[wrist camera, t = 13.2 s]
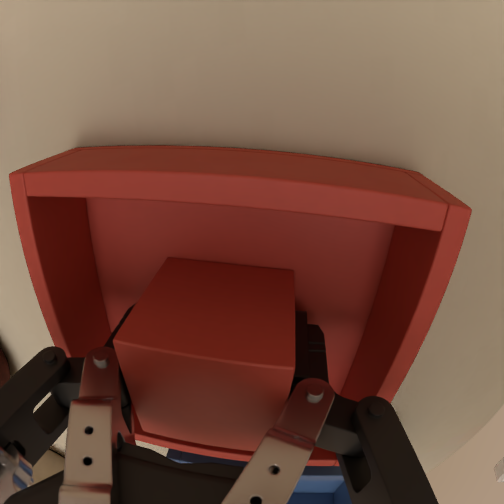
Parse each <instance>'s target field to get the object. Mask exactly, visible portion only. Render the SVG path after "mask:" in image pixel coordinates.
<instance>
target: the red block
mask: <svg viewBox="0 0 504 504" xmlns="http://www.w3.org/2000/svg"><path fill="white" fill-rule="evenodd" d="M113 344H114V348H115V351H116V354H117V358H118V361H119V364H120V368H121V371H122V374H123V377H124V380H125V383H126V386H127V389H128V392H129V395H130V397H131V400H132V403H133V406H134V408H135V411H136V414H137V416H138V419H139V422H140V424H141V427H142V429H143V431H145V432H149V433H153V434H157V435H161V436H166V437H170V438H174V439H179V440H184V441H189V442H194V443H199V444H205V445H211V446H217V447H224V448H231V449H238V450H246V451H255V450H256V449H257V447H258V446H259V444H260V442H261V441H262V439H263V437H264V436H265V434H266V432H267V431H268V430H269V429H270V428H272V427H273V426H274V424H275V423H276V421H277V419H278V417H279V416H280V414H281V412H282V410H283V408H284V407H285V405H286V403H287V401H288V397H289V393H290V389H291V385H292V380H293V376H294V372H295V273H294V271H292V270H282V269H273V268H263V267H253V266H244V265H235V264H225V263H216V262H207V261H198V260H189V259H180V258H171V257H167V258H166V260H165V261H164V263H163V264H162V266H161V267H160V269H159V270H158V271H157V273H156V274H155V276H154V277H153V279H152V280H151V282H150V283H149V285H148V286H147V288H146V289H145V291H144V292H143V294H142V295H141V297H140V298H139V300H138V301H137V303H136V304H135V306H134V307H133V309H132V310H131V312H130V314H129V315H128V317H127V318H126V320H125V321H124V323H123V324H122V326H121V328H120V329H119V331H118V332H117V334H116V335H115V337H114V339H113Z"/></svg>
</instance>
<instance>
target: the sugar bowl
mask: <svg viewBox="0 0 504 504" xmlns="http://www.w3.org/2000/svg"><path fill="white" fill-rule="evenodd" d="M64 464H65V459H64V458H63V457H61V456H60V455H58V454H56V453H54V452H53V451H51V450H49V449H48V450H47V451H46V452H45V454H44V455H43V456H42V457H41V458H40V459H39V461H38V462H37V463H36V464H35V465H34V466H33V475H32V476H33V478H34V482H33V484H36V483H38V482H40V481H42V480H44V479H46V478H48V477H50V476H52V475H54V474H56V473H58V472H60V471H62V470H64ZM33 484H32V485H33ZM30 486H31V485H30ZM28 487H29V486H28Z"/></svg>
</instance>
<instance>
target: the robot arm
mask: <svg viewBox="0 0 504 504" xmlns="http://www.w3.org/2000/svg"><path fill="white" fill-rule="evenodd" d="M135 304H136V303H135ZM135 304H134V305H132V306H131V307H130V308H128V310H127V311H126V313H125V314H124V316H123V318H122V319H121V320H120V322H119V324H118V325H117V326H116V328H115V329H114V331H113V333H112V334H111V336H110V337H109V339H108V340H107V342H106V343H105V345H104V346H103V347H97V348H94V349H92V350H91V351H90V352H88V353H87V355H86V356H85V357H67V356H66V353H65V351H64V350H63V349H62V348H60V347H55V346H52V347H47V348H45V349H43V350H41V351H40V352H39V353H38V354H37V355H36V356H34V357H33V358H32V359H31V360H30V361H29V362H28V363H27V364H26V365H25V366H23V367H22V368H21V369H20V370H19V371H18V372H17V373H16V374H15V375H14V376H13V377H11V378H10V379H9V380H8V381H7V382H6V383H5V384H4V385H3V386H2V387H1V388H0V504H287V502H288V501H289V499H290V497H291V495H292V493H293V491H294V489H295V487H296V485H297V483H298V481H299V479H300V477H301V475H302V473H303V471H304V469H305V466H306V464H307V462H308V460H309V458H310V456H311V454H312V451H313V449H314V447H315V446H316V447H319V448H322V449H326V450H329V451H332V452H335V453H336V456H337V459H338V462H339V466H340V469H341V472H342V475H343V478H344V481H345V484H346V487H347V490H348V493H349V496H350V499H351V502H352V504H438V502H437V499H436V497H435V495H434V492H433V490H432V488H431V486H430V483H429V481H428V479H427V477H426V475H425V472H424V470H423V468H422V466H421V464H420V462H419V460H418V457H417V455H416V453H415V451H414V449H413V447H412V445H411V443H410V441H409V439H408V437H407V435H406V432H405V430H404V428H403V426H402V424H401V422H400V420H399V418H398V416H397V414H396V412H395V410H394V408H393V407H392V405H391V404H390V403H389V402H388V401H387V400H386V399H384V398H382V397H378V396H368V397H365V398H363V399H361V400H360V401H359V402H357V401H354V400H350V399H347V398H344V397H342V396H340V395H338V394H337V393H336V392H335V391H334V390H333V388H332V386H331V385H330V384H329V378H328V367H327V357H326V347H325V338H324V333H323V331H322V330H321V328H320V327H319V325H315V324H308V323H307V312H306V311H297V310H295V372H294V376H293V380H292V385H291V389H290V393H289V397H288V401H287V403H286V405H285V407H284V408H283V410H282V412H281V414H280V416H279V417H278V419H277V421H276V423H275V424H274V426H273V427H272V428H270V429H269V430H268V431H267V432H266V434H265V436H264V437H263V439H262V441H261V442H260V444H259V446H258V447H257V449H256V450H255V452H254V454H253V455H252V457H251V459H250V460H249V462H248V463H247V465H246V466H245V468H244V467H241V466H234V465H226V464H220V463H213V462H210V463H178V462H175V461H173V460H171V459H169V458H167V457H165V456H163V455H161V454H159V453H157V452H155V451H153V450H151V449H148V448H144V447H140V446H137V445H136V443H135V433H134V406H133V403H132V400H131V397H130V395H129V392H128V389H127V386H126V383H125V380H124V377H123V374H122V371H121V368H120V364H119V361H118V358H117V354H116V351H115V348H114V344H113V339H114V337H115V335H116V334H117V332H118V331H119V329H120V328H121V326H122V324H123V323H124V321H125V320H126V318H127V317H128V315H129V314H130V312H131V310H132V309H133V307H134V306H135ZM49 392H51V394H52V395H51V396H50V397H49V398H48V399H47V400H46V401H45V402H44V403H43V404H42V405H41V406H40V407H39V408H38V409H37V410H36V411H35V412H34V413H33V410H34V408H35V406H36V405H37V404H38V403H39V402H40V401H41V400H42V399H43V398H44V397H45V396H46V395H47V394H48V393H49ZM67 427H68V429H67V438H66V450H65V464H64V470H62V471H60V472H58V473H56V474H54V475H52V476H50V477H48V478H46V479H44V480H42V481H40V482H38V483H36V484H33V482H34V478H33V476H32V475H33V466H34V465H35V464H36V463H37V462H38V461H39V459H40V458H41V457H42V456H43V455H44V454H45V452H46V451H47V450H48V449H49V448H50V447H51V446H52V444H53V443H54V442H55V441H56V440H57V439H58V437H59V436H60V435H61V434H62V433H63V432H64V431H65V429H66V428H67ZM32 484H33V485H32ZM30 485H31V486H30ZM28 486H29V487H28Z"/></svg>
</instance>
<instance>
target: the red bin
mask: <svg viewBox="0 0 504 504" xmlns="http://www.w3.org/2000/svg"><path fill="white" fill-rule="evenodd" d="M9 179H10V186H11V193H12V199H13V205H14V210H15V215H16V220H17V225H18V230H19V234H20V239H21V243H22V247H23V251H24V255H25V259H26V263H27V266H28V270H29V273H30V277H31V280H32V283H33V287H34V290H35V293H36V296H37V299H38V302H39V305H40V308H41V311H42V314H43V316H44V319H45V322H46V325H47V327H48V330H49V332H50V335H51V337H52V340H53V342H54V345H55V347H60V348H62V349H63V350H64V351H65V353H66V356H67V357H85V356H86V355H87V353H88V352H90V351H91V350H92V349H94V348H97V347H103V346H104V345H105V343H106V342H107V340H108V339H109V337H110V336H111V334H112V333H113V331H114V329H115V328H116V326H117V325H118V324H119V322H120V320H121V319H122V318H123V316H124V314H125V313H126V311H127V310H128V308H130V307H131V306H132V305H134V304H135V303H137V301H138V300H139V298H140V297H141V295H142V294H143V292H144V291H145V289H146V288H147V286H148V285H149V283H150V282H151V280H152V279H153V277H154V276H155V274H156V273H157V271H158V270H159V269H160V267H161V266H162V264H163V263H164V261H165V260H166V258H167V257H171V258H180V259H189V260H198V261H207V262H216V263H225V264H235V265H244V266H253V267H263V268H273V269H282V270H292V271H294V273H295V310H297V311H306V312H307V323H308V324H315V325H319V327H320V328H321V330H322V331H323V333H324V338H325V347H326V357H327V367H328V378H329V384H330V385H331V386H332V388H333V390H334V391H335V392H336V393H337V394H338V395H340V396H342V397H344V398H347V399H350V400H354V401H357V402H359V401H360V400H361V399H363V398H365V397H368V396H378V397H382V398H384V399H386V400H387V401H388V402H389V403H390V402H391V401H392V399H393V397H394V396H395V394H396V392H397V391H398V389H399V387H400V385H401V383H402V382H403V380H404V378H405V376H406V374H407V373H408V371H409V369H410V367H411V365H412V363H413V361H414V359H415V357H416V355H417V353H418V351H419V349H420V347H421V345H422V343H423V341H424V339H425V337H426V335H427V333H428V330H429V328H430V326H431V324H432V322H433V319H434V317H435V315H436V312H437V310H438V308H439V305H440V303H441V301H442V298H443V296H444V293H445V291H446V288H447V285H448V283H449V280H450V277H451V275H452V272H453V269H454V266H455V264H456V261H457V258H458V255H459V252H460V249H461V246H462V242H463V239H464V236H465V233H466V229H467V226H468V222H469V219H470V215H471V212H472V209H471V208H470V207H468V206H467V205H466V204H464V203H463V202H461V201H460V200H459V199H457V198H456V197H454V196H453V195H452V194H450V193H449V192H447V191H446V190H444V189H443V188H441V187H440V186H438V185H437V184H435V183H434V182H432V181H431V180H429V179H428V178H426V177H425V176H423V175H422V174H420V173H419V172H415V171H410V170H405V169H400V168H395V167H389V166H384V165H378V164H372V163H366V162H359V161H353V160H346V159H339V158H332V157H324V156H316V155H308V154H299V153H290V152H279V151H268V150H256V149H242V148H226V147H205V146H166V145H139V146H101V147H81V148H74V149H71V150H68V151H66V152H63V153H60V154H57V155H54V156H52V157H49V158H46V159H44V160H41V161H38V162H36V163H33V164H31V165H28V166H26V167H23V168H21V169H19V170H16V171H14V172H12V173H10V174H9ZM134 433H135V440H139V441H142V442H146V443H150V444H154V445H158V446H162V447H166V448H170V449H175V450H179V451H184V452H189V453H194V454H200V455H205V456H211V457H217V458H224V459H231V460H238V461H247V462H249V460H250V459H251V457H252V455H253V454H254V452H255V451H246V450H238V449H231V448H224V447H217V446H211V445H205V444H199V443H194V442H189V441H184V440H179V439H174V438H170V437H166V436H161V435H157V434H153V433H149V432H145V431H143V429H142V427H141V424H140V422H139V419H138V416H137V414H136V411H135V408H134ZM333 465H334V466H339V462H338V459H337V456H336V453H335V452H332V451H329V450H326V449H322V448H319V447H316V446H315V447H314V449H313V451H312V454H311V456H310V458H309V460H308V462H307V464H306V466H333Z"/></svg>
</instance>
